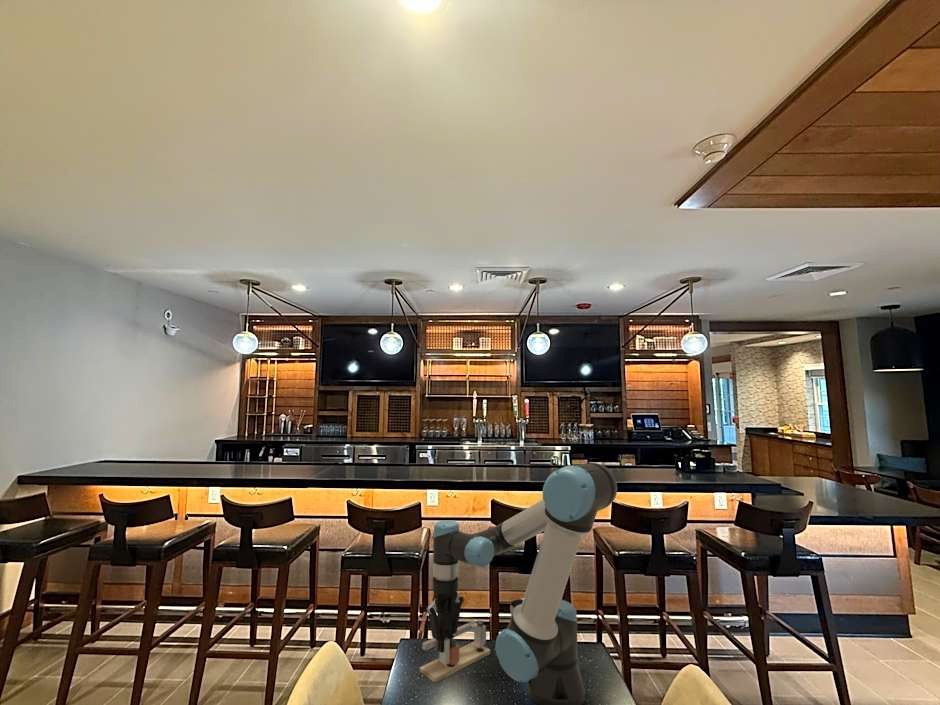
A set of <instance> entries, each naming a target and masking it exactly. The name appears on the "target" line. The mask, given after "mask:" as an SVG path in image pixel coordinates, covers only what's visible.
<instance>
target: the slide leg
mask: <svg viewBox="0 0 940 705" xmlns="http://www.w3.org/2000/svg"><path fill="white" fill-rule="evenodd" d="M459 648H460V645H458V644H457V640H456V639H455V638H453V639H451V648H450V649H449V663H450V664H451V665H454V664H456V663H458V662H459Z"/></svg>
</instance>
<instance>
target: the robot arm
mask: <svg viewBox="0 0 940 705" xmlns="http://www.w3.org/2000/svg"><path fill="white" fill-rule="evenodd" d="M617 484H618V483H617V481H616V477H615V476H614V474H613V472H612V471H611V470H610V469H609V468H608V467H607V466H605V465H602V464H601V463H596V462H586V463H582V464H577V465H567V466H566V465H565V466H563V467H561V468H559V469H556V470H555V471H553V472H552V473H551V474H549V475H548V476H547V479H546V480H545V482H544V484H543V487H542V499H541V500H540V501H537V502H536V503H534V504H532V505H531V506H529V507H528V508H526V509H524V510H522V511H521V512H519V513H518V512H517V513H516V514H515V515H513V516H512V517H510V518H508V519H506V520H505V521H503V522H501V523H499V524H497V525H495V526H493V527H490V528H487V529H484V530H481V531H479V532H475V533H467V532H462V531H460V528H459V527H460V526H459V523H458V522H457V521H455V520H449V519H448V520H440V521H437V522H436V523H435V524H434V526H433V536H432V539H433V541H432V542H433V544H432V545H433V547H432V551H433V556H432V557H433V559H432V576H433V577H432V591H433V592H432V593H433V595H432V596H433V597H432V602H431V603H430V605H426V606H425V611H426V612H427V614H428V619H429V624H430V630H431V637H432V639H433V638H434V639H436V640H438V645H437V651H438V652H439V655H438V659H439V661H440V662H441V663H443V664H444V665H447V664H449V649H450V648H451V639H455V637H454V636H453V634H455V633H456V632H457V628H458V627H459V620H460V615H461V614H460V613H461V608H462V605H463V602H464V600H465V599H464V596H462V595H459V592H458V590H459V561H460V562H463V563H466V564H469V565H471V566H474V567H480V568H484V567H488V566H489V565H490V562H492V561H493V558H494V557H495V556H497V555H499V554H500V555H501V554H503V553H506V552H508V551H511V550H513V549H514V548H515V547H516V546H518V545H520V544H522V543H524V542H525V541H527V540H529V539H532V538H533V537H536V536H538V535H539V534H542V533H543V532H544V533H543V536H542V539H541V542H540V545H539V548H538V552H537V555H536V558H535V561H534V563H533V567H532V571H531V574H530V576H529V580H528V582H527V583H528V584H527V587H526V590H525V593H524V597H523V598H522V599H523V602H522V604H520V605H518V606H516V607H515V608H514V610H513V613H512V616H511V615H510V620H509V623H508V626H507V627H506V628H504V629H502V630H501V631H500V632H499V633H498V635H497V636H496V640H495V645H494V647H495V653H496V657H497V658H498V662H499V664H500V666H501V668H502V669H503V671H504V673H506V675H508V676H509V677H510V678H511V679H513V680H514V681H516V682H519V683H527V693H528V697H529V698H530V700H532V701H533V702H534V703H535V704H537V705H583V704H584V702H585V700H586V689H585V683H584V681H583V678H582V674H581V671H580V668H579V663H578V662H579V661H578V660H579V659H578V657H579V656H578V615H577V609H576V606H574V605H573V604H572V603H570V602H568V601H567V600H564V599H563V596H564V593H565V589H566V585H567V583H568V580H569V577H570V574H571V572H572V571H571V570H572V568H573V564H574V562H575V558H576V556H577V553H578V550H579V546H580V543H581V540H582V537H583V536H584V535H586V534H589V533H590V532H591V531H592V528H593V527H594V526H593V525H594V522H595V520H596V516H597V514H598V512H599V511H601V510H604V509H606V508H608V507H609V506H610V505H612V504H613V502H614V501H615V499H616V497H617V492H618V485H617Z"/></svg>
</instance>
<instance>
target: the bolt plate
mask: <svg viewBox="0 0 940 705" xmlns="http://www.w3.org/2000/svg"><path fill="white" fill-rule="evenodd" d="M489 655H491V649H490V648H488V647H486V646H485V645H483V646H482V650H481V651H479V646H477V645H476V644H474V641H472V642H470V643H468V644H466V645H463V646H462V647H459V662H458V663H456V664H454V665H451V664H450V663H449V664H447V665H444V664H443V663H441V662H440V661H439V658H437V659H435V660H432V661H430V662H428V663H426V664H424V665H422V666H420V667H419V673H420V674H422V675H423V676H424V677H426V678H428V679H429V680H430V681H432V682H434V683H438V682H440V681H441V680H443V679H445V678H447V677H449V676H452V675H453V674H455V673H457V672H458V671H461V670H463V669H464V668H466V667H468V666H470V665H472V664H473V663H475V662H478V661H479V660H481V659H483V658H485V657H487V656H489Z"/></svg>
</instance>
